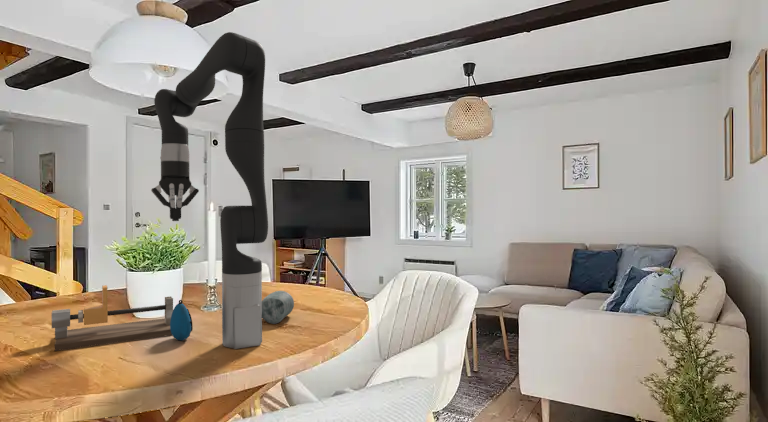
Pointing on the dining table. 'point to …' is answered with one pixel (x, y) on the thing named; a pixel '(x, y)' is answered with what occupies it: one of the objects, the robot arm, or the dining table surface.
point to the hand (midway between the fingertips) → (175, 220)
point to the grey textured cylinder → (277, 306)
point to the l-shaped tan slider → (97, 311)
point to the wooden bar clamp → (109, 328)
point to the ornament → (181, 322)
